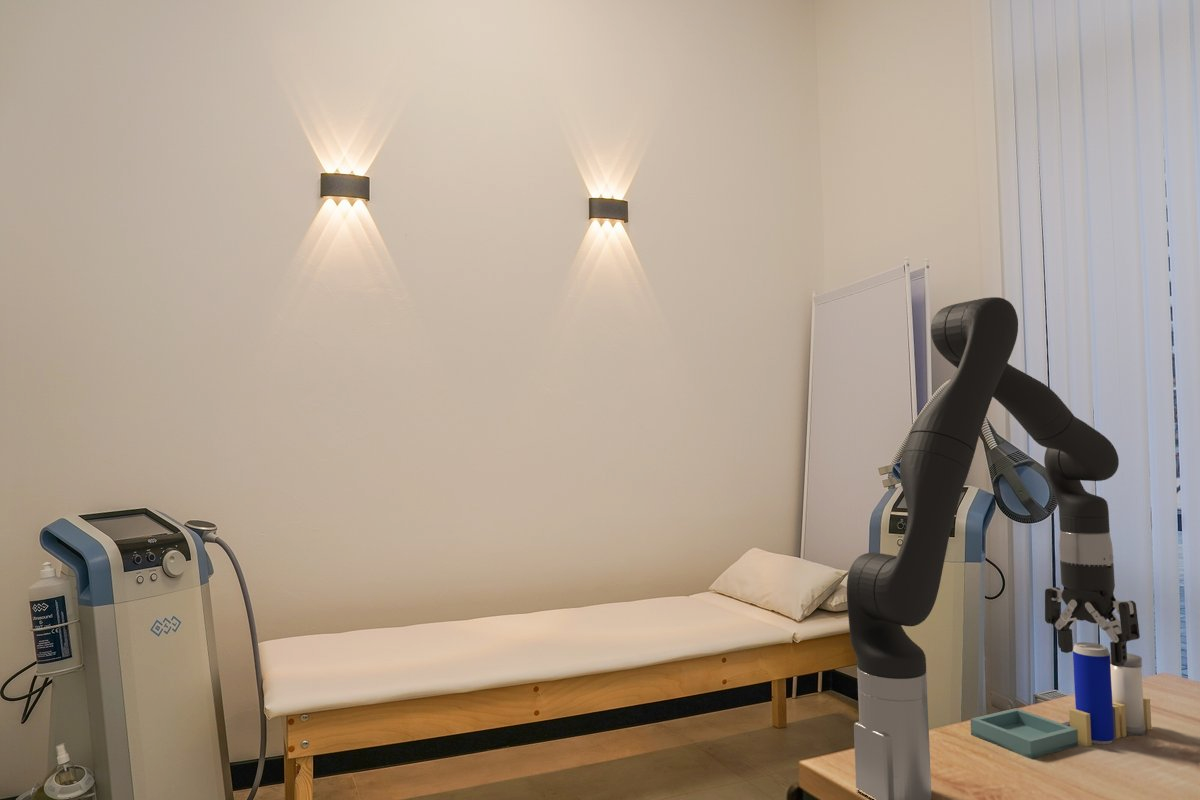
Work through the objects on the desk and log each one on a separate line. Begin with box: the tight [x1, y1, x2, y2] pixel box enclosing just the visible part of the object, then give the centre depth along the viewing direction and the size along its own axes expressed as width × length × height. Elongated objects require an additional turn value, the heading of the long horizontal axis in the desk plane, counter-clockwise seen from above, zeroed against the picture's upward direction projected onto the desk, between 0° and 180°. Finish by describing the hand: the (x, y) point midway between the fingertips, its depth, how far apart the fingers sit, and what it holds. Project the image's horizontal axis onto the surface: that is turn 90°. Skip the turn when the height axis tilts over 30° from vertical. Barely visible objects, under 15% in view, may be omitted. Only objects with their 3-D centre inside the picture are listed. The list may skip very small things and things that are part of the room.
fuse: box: [1109, 652, 1146, 736], centre depth 131 cm, size 5×5×12 cm
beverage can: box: [1072, 642, 1115, 745], centre depth 128 cm, size 5×5×15 cm
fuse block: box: [1061, 696, 1152, 747], centre depth 130 cm, size 17×6×5 cm, turn 114°
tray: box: [970, 707, 1079, 759], centre depth 128 cm, size 11×11×3 cm
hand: (1091, 658), depth 128 cm, fingers open, 8 cm apart
